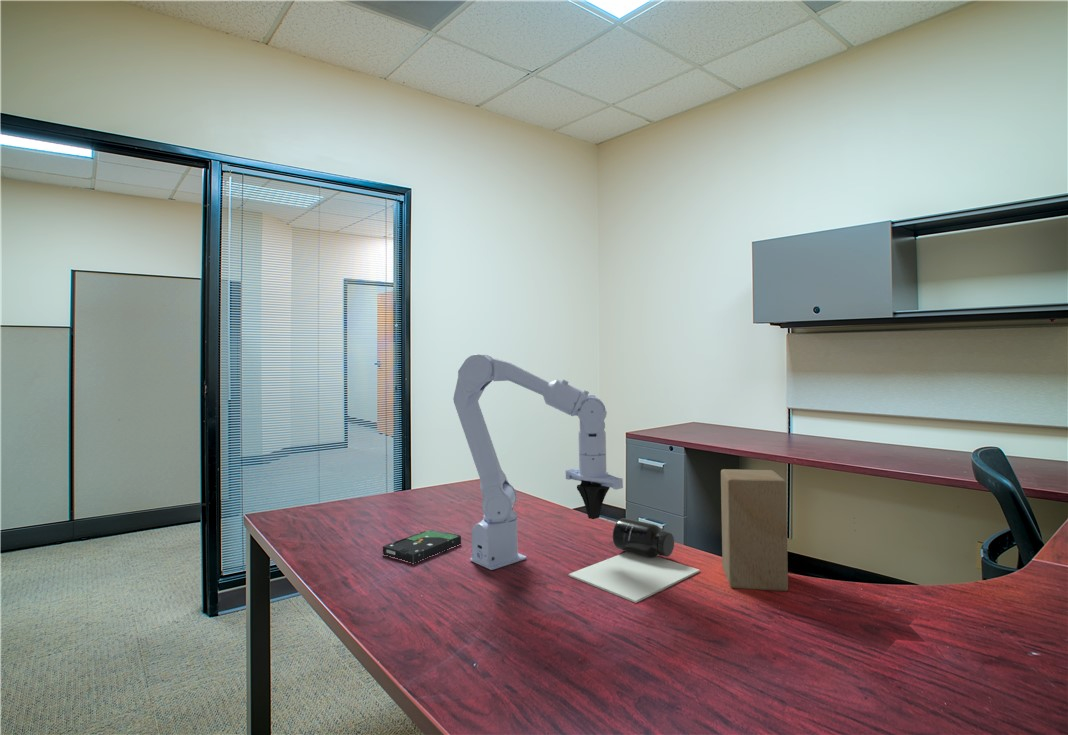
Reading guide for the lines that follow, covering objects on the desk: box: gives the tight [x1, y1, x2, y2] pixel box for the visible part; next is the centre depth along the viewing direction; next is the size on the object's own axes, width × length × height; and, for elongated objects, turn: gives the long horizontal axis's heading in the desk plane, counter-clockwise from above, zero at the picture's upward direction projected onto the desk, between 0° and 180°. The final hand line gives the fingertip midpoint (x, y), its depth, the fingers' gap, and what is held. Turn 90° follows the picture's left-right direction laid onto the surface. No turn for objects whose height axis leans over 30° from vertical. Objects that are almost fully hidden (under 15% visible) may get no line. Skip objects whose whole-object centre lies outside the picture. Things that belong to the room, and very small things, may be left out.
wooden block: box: [720, 468, 789, 592], centre depth 103 cm, size 10×10×20 cm
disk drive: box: [382, 528, 462, 563], centre depth 123 cm, size 10×3×15 cm
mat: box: [568, 551, 701, 604], centre depth 106 cm, size 20×16×1 cm
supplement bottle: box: [612, 517, 675, 558], centre depth 116 cm, size 7×7×12 cm
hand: (593, 517), depth 114 cm, fingers closed
